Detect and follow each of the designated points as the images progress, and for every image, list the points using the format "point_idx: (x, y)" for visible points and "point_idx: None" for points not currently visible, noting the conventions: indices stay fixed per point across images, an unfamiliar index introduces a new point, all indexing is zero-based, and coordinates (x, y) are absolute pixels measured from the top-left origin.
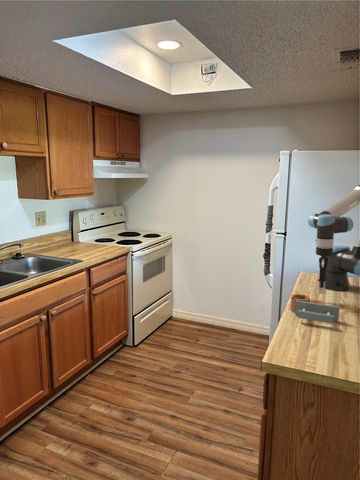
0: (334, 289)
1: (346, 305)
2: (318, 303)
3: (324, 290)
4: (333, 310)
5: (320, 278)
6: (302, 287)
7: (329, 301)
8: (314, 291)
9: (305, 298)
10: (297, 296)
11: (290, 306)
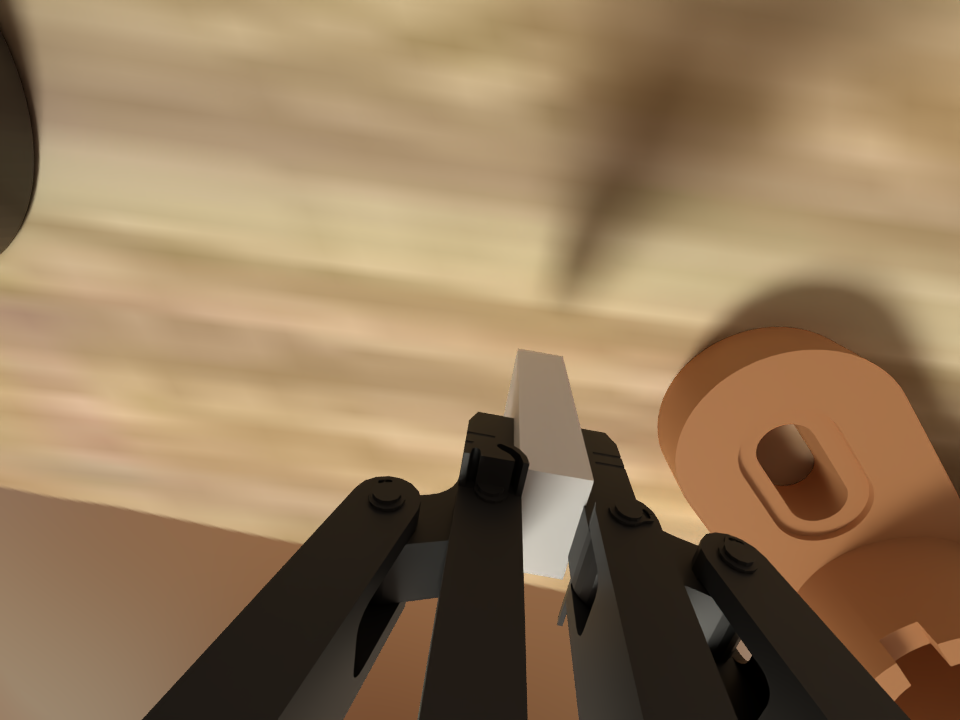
0: (17, 111)
1: (624, 17)
2: (776, 423)
3: (557, 377)
4: None
5: (764, 686)
6: (131, 474)
7: (511, 244)
8: (204, 372)
9: (920, 636)
10: None
11: None
